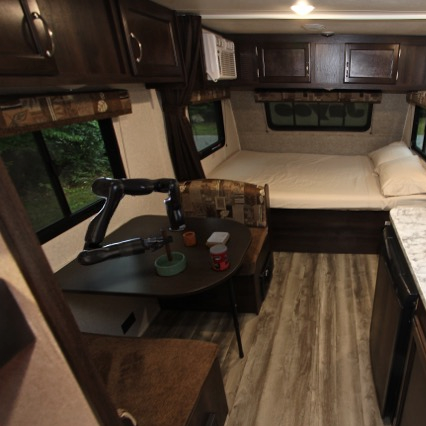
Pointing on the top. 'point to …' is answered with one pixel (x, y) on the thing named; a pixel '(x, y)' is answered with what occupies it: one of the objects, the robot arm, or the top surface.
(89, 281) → the top surface
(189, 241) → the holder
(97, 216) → the robot arm
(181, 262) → the bowl
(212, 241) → the soap dish
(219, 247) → the canned food
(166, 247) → the stick
